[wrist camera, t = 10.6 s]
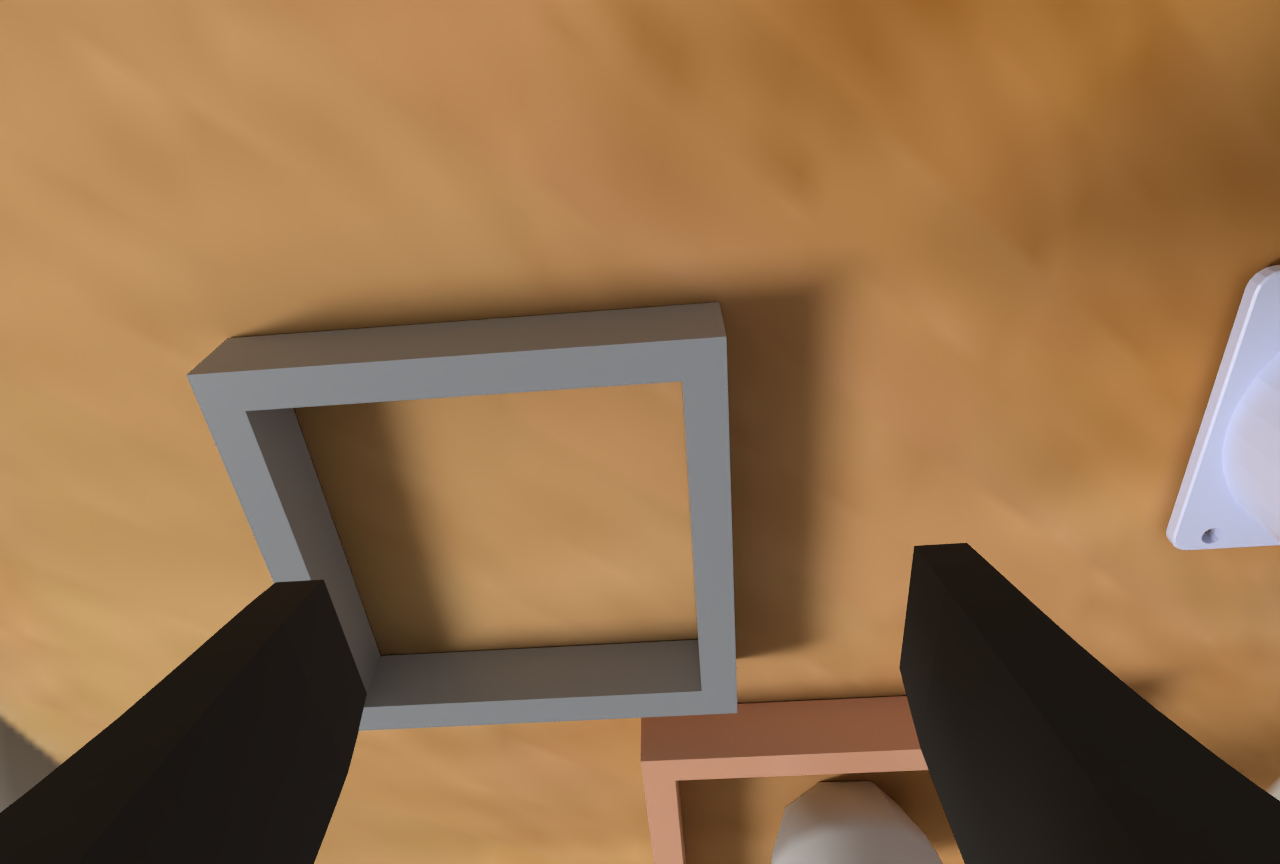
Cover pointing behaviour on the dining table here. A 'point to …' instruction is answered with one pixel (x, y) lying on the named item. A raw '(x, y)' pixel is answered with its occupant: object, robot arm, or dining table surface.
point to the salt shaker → (850, 828)
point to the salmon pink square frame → (768, 750)
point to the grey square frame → (465, 366)
